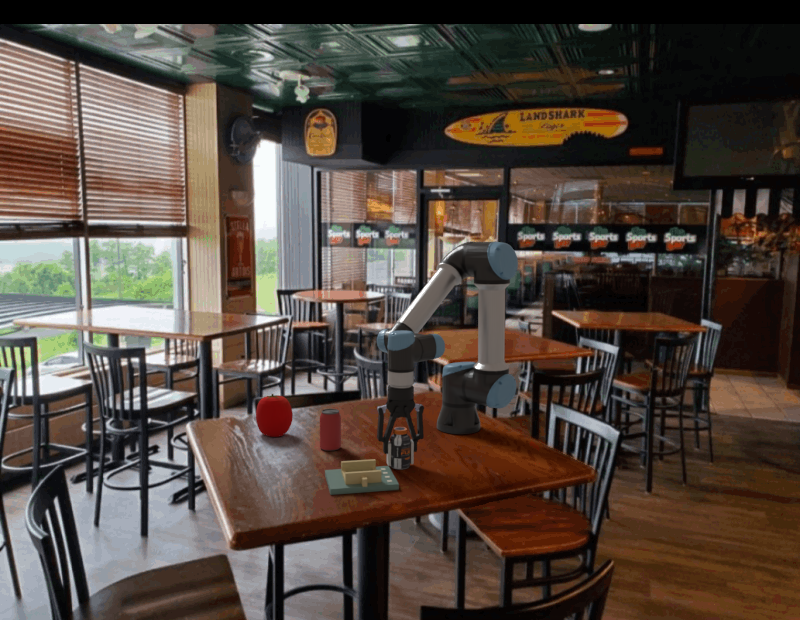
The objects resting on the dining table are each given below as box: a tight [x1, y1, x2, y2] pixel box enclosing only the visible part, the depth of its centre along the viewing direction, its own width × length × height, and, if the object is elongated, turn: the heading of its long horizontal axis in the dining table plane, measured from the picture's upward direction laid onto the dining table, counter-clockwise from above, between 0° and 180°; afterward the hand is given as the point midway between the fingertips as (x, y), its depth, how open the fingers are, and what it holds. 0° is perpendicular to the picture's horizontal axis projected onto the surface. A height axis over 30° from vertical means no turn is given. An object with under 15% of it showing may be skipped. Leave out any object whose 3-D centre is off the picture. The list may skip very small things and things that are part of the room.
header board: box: [324, 458, 400, 496], centre depth 175 cm, size 18×14×4 cm
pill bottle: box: [389, 426, 412, 470], centre depth 187 cm, size 6×6×11 cm
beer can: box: [319, 408, 342, 452], centre depth 202 cm, size 7×7×12 cm
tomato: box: [255, 393, 294, 438], centre depth 215 cm, size 13×11×14 cm
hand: (400, 463), depth 187 cm, fingers closed on pill bottle, 6 cm apart
